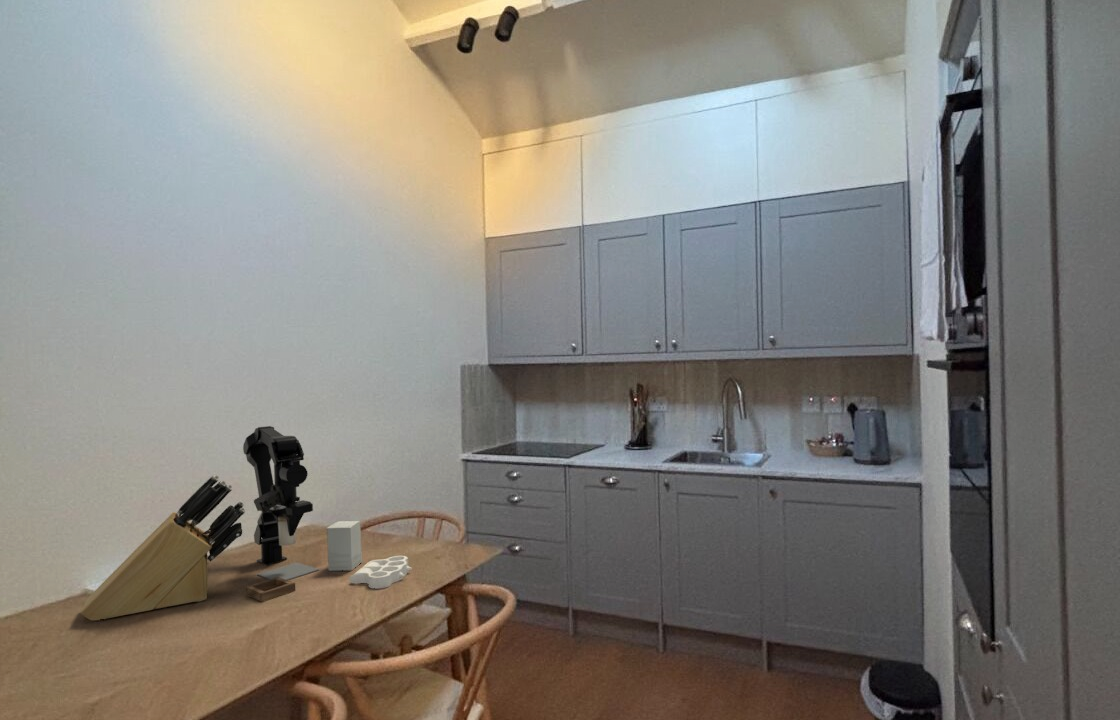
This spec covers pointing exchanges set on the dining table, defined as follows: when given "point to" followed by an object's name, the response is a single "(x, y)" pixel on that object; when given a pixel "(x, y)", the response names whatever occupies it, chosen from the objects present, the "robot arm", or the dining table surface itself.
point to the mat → (288, 571)
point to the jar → (284, 532)
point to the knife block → (170, 559)
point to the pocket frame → (279, 583)
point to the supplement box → (344, 545)
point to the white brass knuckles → (382, 572)
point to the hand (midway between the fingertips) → (287, 534)
